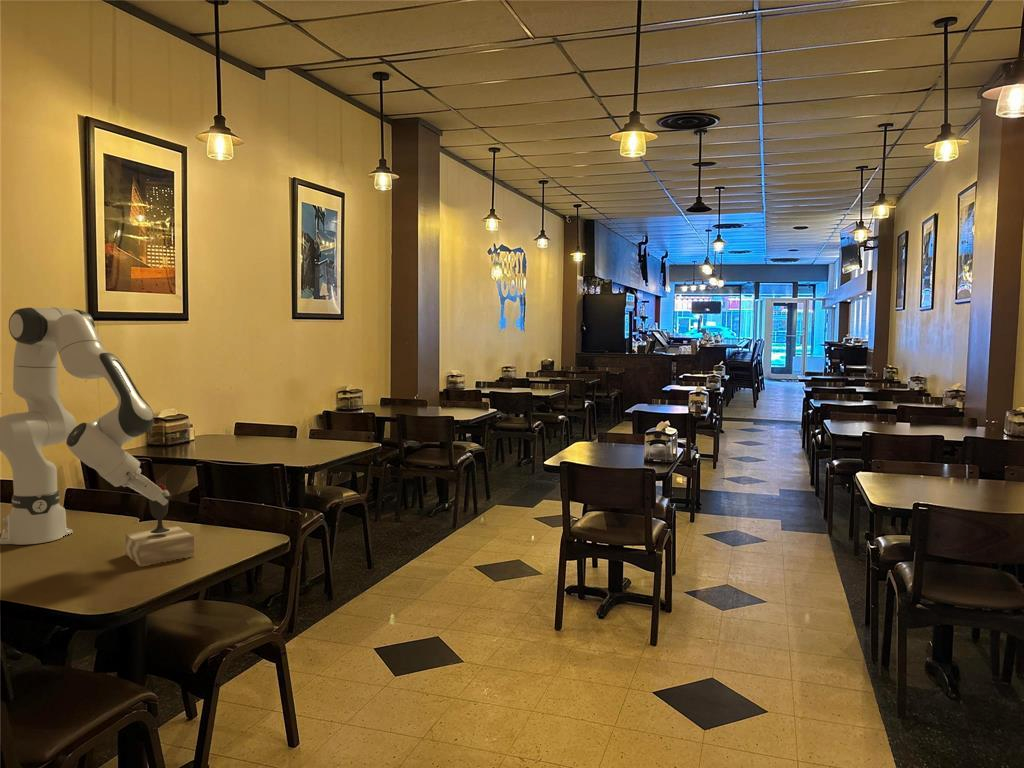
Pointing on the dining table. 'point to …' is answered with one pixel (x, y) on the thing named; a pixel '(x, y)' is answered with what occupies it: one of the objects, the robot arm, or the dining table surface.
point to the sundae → (160, 509)
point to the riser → (159, 546)
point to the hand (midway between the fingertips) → (161, 500)
